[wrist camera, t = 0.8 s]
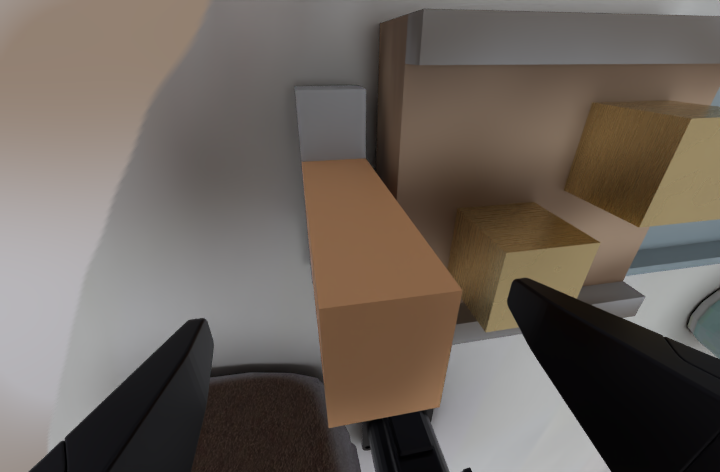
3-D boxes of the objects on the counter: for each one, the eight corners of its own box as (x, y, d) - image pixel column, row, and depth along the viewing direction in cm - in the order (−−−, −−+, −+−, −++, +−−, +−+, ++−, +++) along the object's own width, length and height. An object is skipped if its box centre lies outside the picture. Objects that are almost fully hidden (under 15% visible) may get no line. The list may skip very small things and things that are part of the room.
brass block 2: (632, 184, 17) (721, 219, 13) (563, 190, 16) (638, 227, 12) (669, 100, 15) (786, 114, 11) (592, 102, 14) (691, 118, 10)
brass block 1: (514, 268, 18) (567, 319, 14) (446, 277, 17) (485, 332, 14) (533, 201, 16) (600, 242, 12) (457, 208, 15) (506, 253, 12)
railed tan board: (567, 265, 24) (634, 315, 20) (372, 288, 22) (396, 353, 17) (658, 28, 17) (801, 18, 12) (379, 23, 14) (423, 8, 10)
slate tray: (728, 240, 26) (767, 256, 24) (556, 261, 24) (583, 281, 22) (858, 41, 20) (928, 39, 17) (636, 39, 17) (686, 36, 15)
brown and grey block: (358, 258, 20) (428, 465, 10) (310, 263, 20) (333, 485, 10) (357, 85, 16) (491, 146, 5) (294, 86, 15) (306, 155, 5)
